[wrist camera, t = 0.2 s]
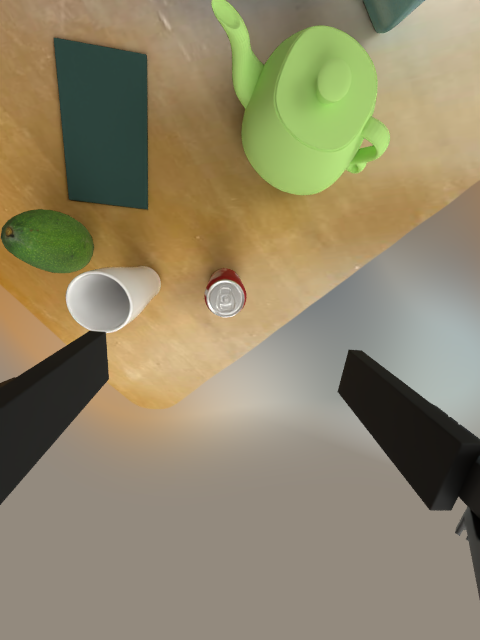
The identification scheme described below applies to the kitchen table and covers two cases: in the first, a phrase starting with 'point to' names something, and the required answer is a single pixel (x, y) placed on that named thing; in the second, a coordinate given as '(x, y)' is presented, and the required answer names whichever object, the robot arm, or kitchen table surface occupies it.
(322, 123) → the teapot
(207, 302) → the soda can
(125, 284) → the drinking glass
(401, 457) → the robot arm
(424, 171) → the kitchen table surface
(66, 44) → the mat
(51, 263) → the fruit
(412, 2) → the flower pot
